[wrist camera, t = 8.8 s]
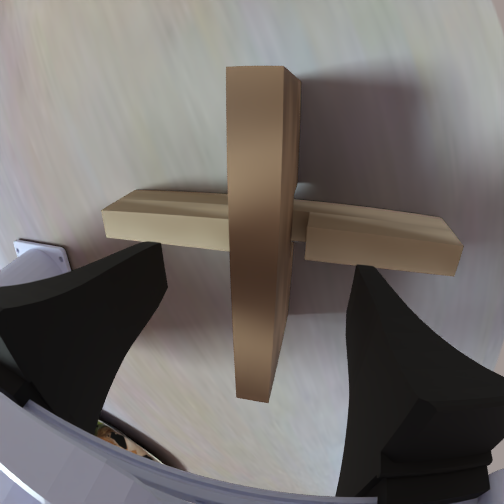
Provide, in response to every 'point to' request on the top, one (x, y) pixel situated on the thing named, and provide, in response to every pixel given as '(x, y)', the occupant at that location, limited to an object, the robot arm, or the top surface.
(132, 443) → the plate of food
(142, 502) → the robot arm
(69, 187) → the top surface
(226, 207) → the birch board
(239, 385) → the wooden plank
